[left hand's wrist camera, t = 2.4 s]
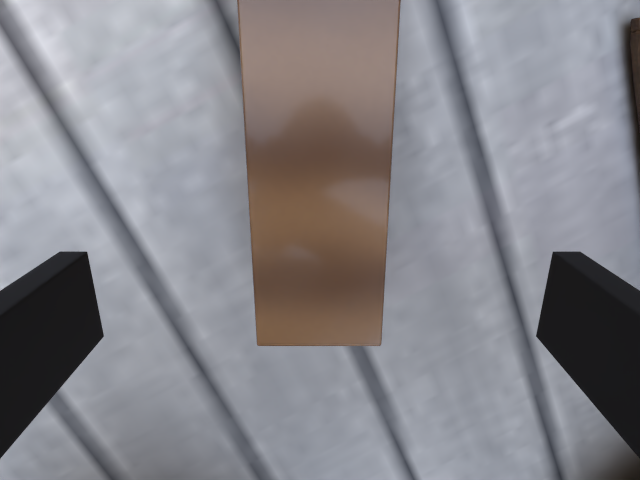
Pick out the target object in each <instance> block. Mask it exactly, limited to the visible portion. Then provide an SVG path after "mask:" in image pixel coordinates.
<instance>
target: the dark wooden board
mask: <svg viewBox="0 0 640 480" xmlns="http://www.w3.org/2000/svg"><path fill="white" fill-rule="evenodd" d="M630 48H631V58H632V72H633V84H634V92H635V99H636V107H637V116H638V123H639V131H640V18H635V19H632V20H631V38H630Z"/></svg>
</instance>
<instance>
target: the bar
mask: <svg viewBox="0 0 640 480" xmlns="http://www.w3.org/2000/svg"><path fill="white" fill-rule="evenodd" d="M400 1H401V0H237V7H238V24H239V41H240V58H241V76H242V93H243V110H244V127H245V145H246V162H247V179H248V196H249V214H250V231H251V248H252V265H253V283H254V300H255V317H256V334H257V345H258V346H380V345H381V339H382V321H383V303H384V285H385V268H386V250H387V232H388V214H389V197H390V179H391V161H392V143H393V126H394V108H395V90H396V72H397V55H398V37H399V19H400Z"/></svg>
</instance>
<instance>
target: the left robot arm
mask: <svg viewBox="0 0 640 480" xmlns="http://www.w3.org/2000/svg"><path fill="white" fill-rule="evenodd" d="M103 337H104V335H103V330H102V325H101V320H100V315H99V310H98V304H97V299H96V294H95V289H94V284H93V279H92V274H91V269H90V264H89V259H88V254H87V252H59V253H57V254H56V255H54V256H53V257H51V258H50V259H48V260H47V261H45V262H44V263H42V264H40V265H39V266H37V267H36V268H34V269H33V270H31V271H30V272H28V273H27V274H25V275H24V276H22V277H21V278H19V279H18V280H16V281H15V282H13V283H12V284H10V285H9V286H7V287H5V288H4V289H2V290H1V291H0V458H1V457H2V456H3V455H4V453H5V452H6V451H7V450H8V449H9V448H10V446H11V445H12V444H13V443H14V442H15V440H16V439H17V438H18V437H19V436H20V435H21V433H22V432H23V431H24V430H25V429H26V428H27V426H28V425H29V424H30V423H31V422H32V420H33V419H34V418H35V417H36V416H37V415H38V413H39V412H40V411H41V410H42V409H43V407H44V406H45V405H46V404H47V403H48V402H49V400H50V399H51V398H52V397H53V396H54V394H55V393H56V392H57V391H58V390H59V389H60V387H61V386H62V385H63V384H64V383H65V381H66V380H67V379H68V378H69V377H70V376H71V374H72V373H73V372H74V371H75V370H76V368H77V367H78V366H79V365H80V364H81V363H82V361H83V360H84V359H85V358H86V357H87V355H88V354H89V353H90V352H91V351H92V350H93V348H94V347H95V346H96V345H97V344H98V342H99V341H100V340H101V339H102V338H103ZM536 337H537V338H538V339H539V340H540V341H541V342H542V344H543V345H544V346H545V347H546V348H547V350H548V351H549V352H550V353H551V354H552V355H553V357H554V358H555V359H556V360H557V361H558V363H559V364H560V365H561V366H562V367H563V368H564V370H565V371H566V372H567V373H568V374H569V376H570V377H571V378H572V379H573V380H574V381H575V383H576V384H577V385H578V386H579V387H580V389H581V390H582V391H583V392H584V393H585V394H586V396H587V397H588V398H589V399H590V400H591V402H592V403H593V404H594V405H595V406H596V407H597V409H598V410H599V411H600V412H601V413H602V415H603V416H604V417H605V418H606V419H607V420H608V422H609V423H610V424H611V425H612V426H613V428H614V429H615V430H616V431H617V432H618V433H619V435H620V436H621V437H622V438H623V439H624V441H625V442H626V443H627V444H628V445H629V446H630V448H631V449H632V450H633V451H634V452H635V453H636V455H637V456H638V457H639V458H640V291H639V290H638V289H636V288H635V287H633V286H631V285H630V284H628V283H627V282H625V281H624V280H622V279H621V278H619V277H618V276H616V275H615V274H613V273H612V272H610V271H609V270H607V269H606V268H604V267H603V266H601V265H600V264H598V263H596V262H595V261H593V260H592V259H590V258H589V257H587V256H586V255H584V254H583V253H581V252H553V254H552V259H551V264H550V269H549V274H548V279H547V284H546V289H545V294H544V299H543V304H542V310H541V315H540V320H539V325H538V330H537V335H536Z"/></svg>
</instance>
